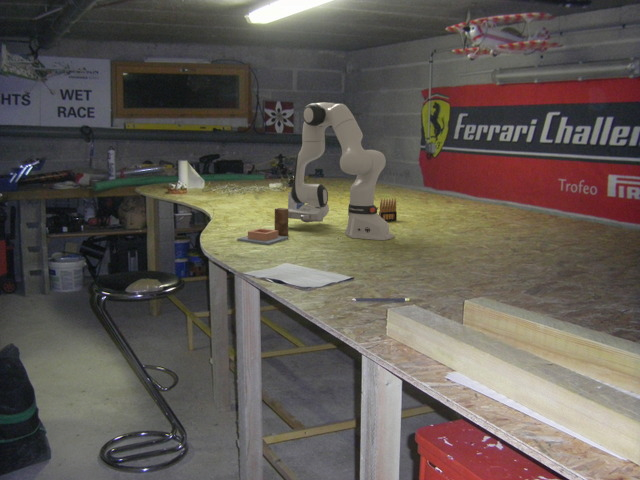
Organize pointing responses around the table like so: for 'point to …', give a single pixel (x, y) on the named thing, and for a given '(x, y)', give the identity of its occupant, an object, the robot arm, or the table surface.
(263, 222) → the table surface
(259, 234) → the housing
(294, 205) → the ink cartridge box
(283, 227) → the wooden post
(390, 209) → the ammunition clip
